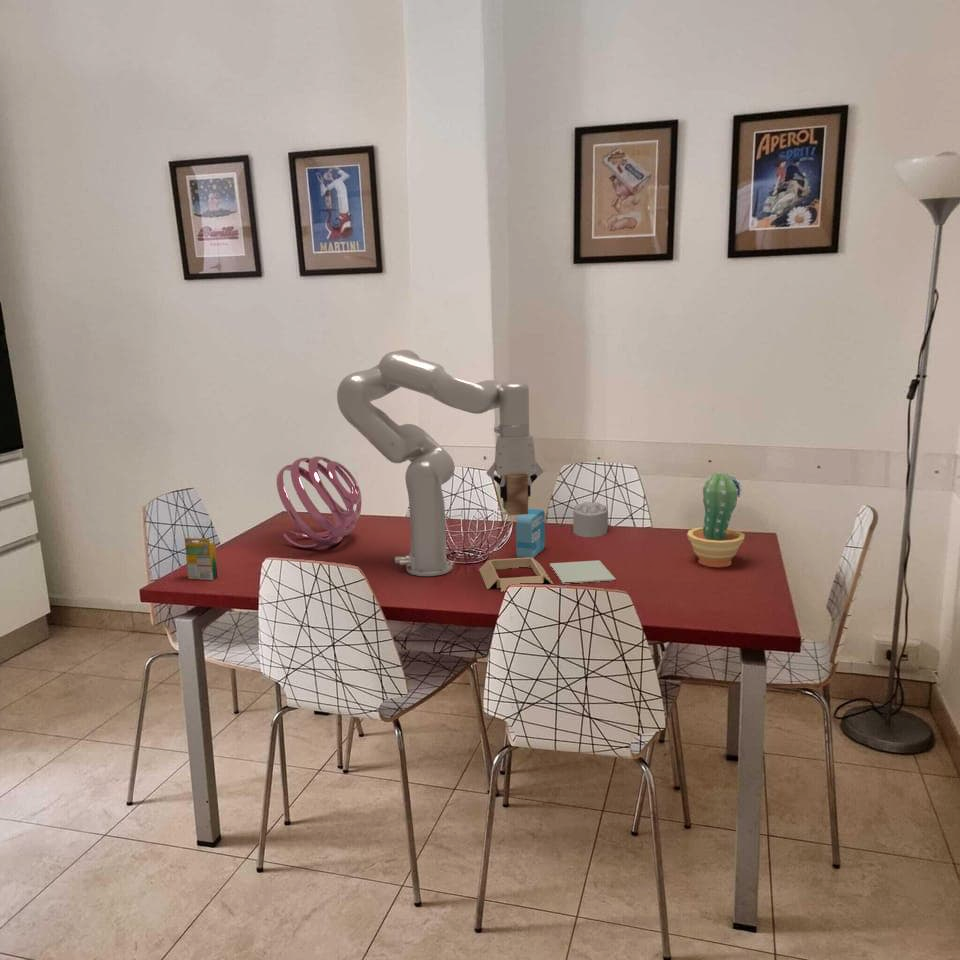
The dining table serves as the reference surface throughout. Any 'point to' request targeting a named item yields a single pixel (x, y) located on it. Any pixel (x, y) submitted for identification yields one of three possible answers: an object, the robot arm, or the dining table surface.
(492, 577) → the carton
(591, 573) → the plate
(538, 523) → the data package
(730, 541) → the potted cactus
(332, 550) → the dining table surface
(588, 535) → the lumpy-topped squat cylinder
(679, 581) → the dining table surface
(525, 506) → the walnut box
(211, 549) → the crayon box
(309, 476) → the spiral basket
